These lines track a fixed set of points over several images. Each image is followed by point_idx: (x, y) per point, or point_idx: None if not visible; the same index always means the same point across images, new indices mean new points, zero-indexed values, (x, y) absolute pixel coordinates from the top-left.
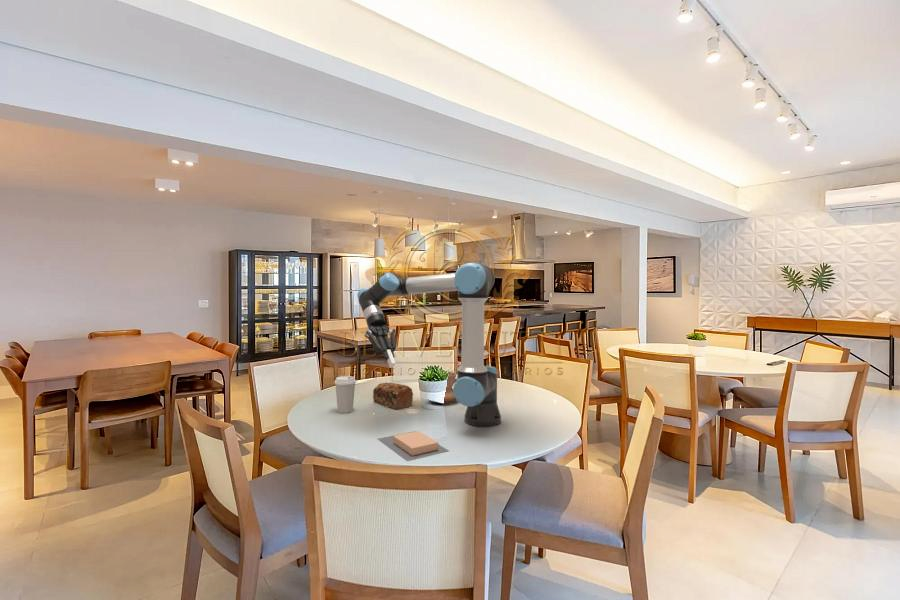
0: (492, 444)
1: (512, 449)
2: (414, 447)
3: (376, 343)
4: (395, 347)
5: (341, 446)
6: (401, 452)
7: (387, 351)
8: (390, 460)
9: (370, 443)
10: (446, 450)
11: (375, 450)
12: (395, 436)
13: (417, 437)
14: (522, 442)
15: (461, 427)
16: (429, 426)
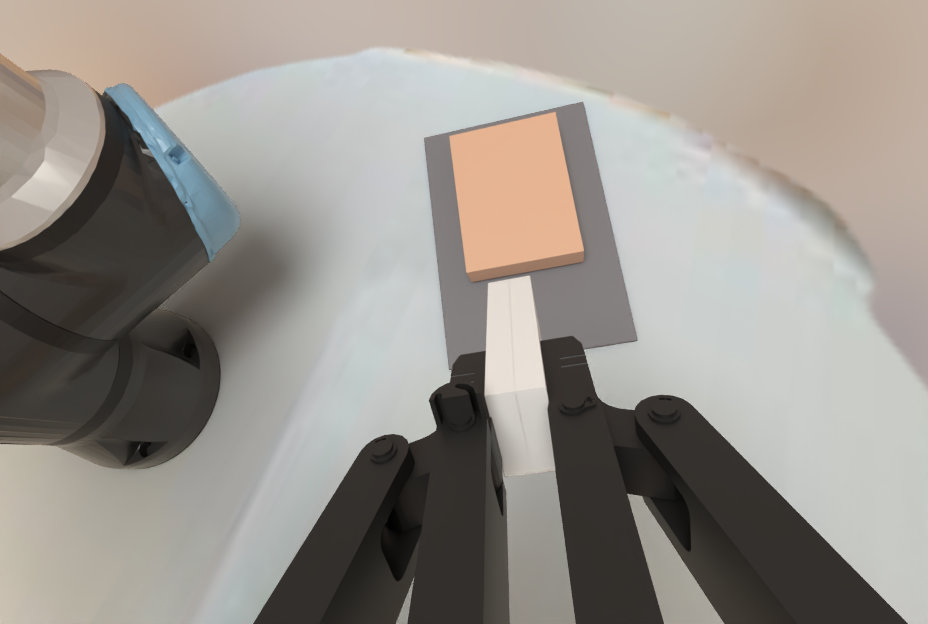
0: (275, 159)
1: (252, 109)
2: (544, 117)
3: (751, 486)
4: (378, 441)
5: (806, 321)
6: (579, 171)
7: (542, 367)
8: (632, 133)
9: (672, 311)
10: (431, 145)
11: (666, 232)
12: (577, 242)
13: (498, 203)
14: (191, 147)
15: (263, 351)
16: (367, 418)
